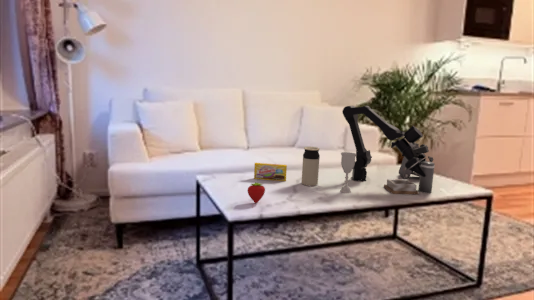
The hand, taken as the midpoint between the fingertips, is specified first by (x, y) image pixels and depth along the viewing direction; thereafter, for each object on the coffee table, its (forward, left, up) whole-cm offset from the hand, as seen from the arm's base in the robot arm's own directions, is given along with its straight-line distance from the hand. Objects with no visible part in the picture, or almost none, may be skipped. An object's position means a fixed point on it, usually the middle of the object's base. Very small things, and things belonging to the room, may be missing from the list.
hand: (427, 174), depth 206 cm
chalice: (-40, -4, -8) cm, 41 cm away
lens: (0, 0, -8) cm, 8 cm away
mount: (-12, 0, -8) cm, 15 cm away
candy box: (-74, +15, -8) cm, 76 cm away
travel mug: (-55, +8, -8) cm, 56 cm away
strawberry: (-83, -25, -8) cm, 87 cm away
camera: (+7, +28, -8) cm, 30 cm away
